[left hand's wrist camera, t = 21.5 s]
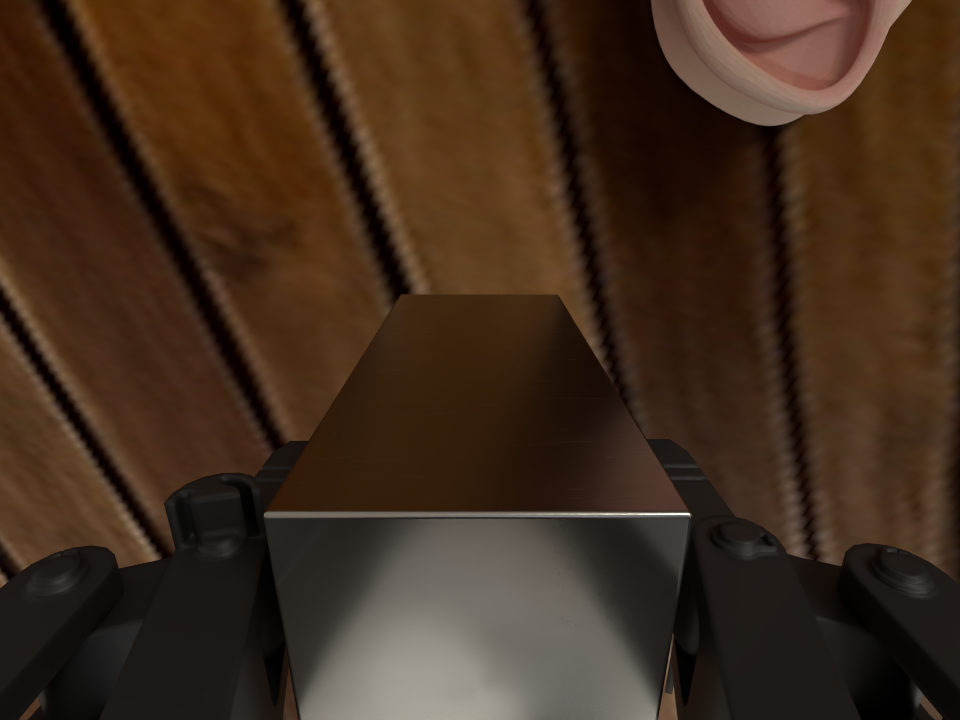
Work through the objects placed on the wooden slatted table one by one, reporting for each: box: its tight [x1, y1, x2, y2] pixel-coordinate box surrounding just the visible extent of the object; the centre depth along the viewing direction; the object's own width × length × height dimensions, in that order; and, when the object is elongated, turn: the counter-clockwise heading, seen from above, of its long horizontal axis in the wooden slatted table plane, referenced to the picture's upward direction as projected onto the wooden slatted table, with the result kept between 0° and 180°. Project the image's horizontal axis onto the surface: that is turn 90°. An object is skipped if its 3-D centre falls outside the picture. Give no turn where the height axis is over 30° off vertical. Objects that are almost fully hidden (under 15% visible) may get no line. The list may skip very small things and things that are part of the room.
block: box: [264, 295, 692, 720], centre depth 11 cm, size 5×5×10 cm
